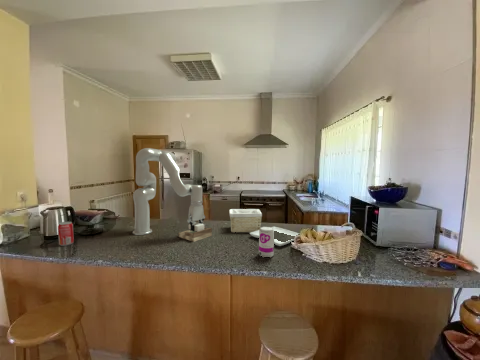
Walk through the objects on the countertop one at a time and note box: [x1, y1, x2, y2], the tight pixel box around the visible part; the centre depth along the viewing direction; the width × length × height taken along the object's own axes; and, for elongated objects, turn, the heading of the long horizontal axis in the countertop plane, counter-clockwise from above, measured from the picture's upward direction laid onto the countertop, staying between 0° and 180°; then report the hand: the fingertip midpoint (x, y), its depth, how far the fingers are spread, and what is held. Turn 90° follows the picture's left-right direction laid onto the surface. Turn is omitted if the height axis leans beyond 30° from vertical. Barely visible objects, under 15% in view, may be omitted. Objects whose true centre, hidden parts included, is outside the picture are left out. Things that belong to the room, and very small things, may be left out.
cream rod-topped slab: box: [187, 221, 205, 232], centre depth 152 cm, size 10×6×6 cm, turn 52°
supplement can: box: [258, 226, 275, 258], centre depth 123 cm, size 8×8×15 cm
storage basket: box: [228, 208, 263, 233], centre depth 170 cm, size 24×16×15 cm
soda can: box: [57, 221, 75, 247], centre depth 133 cm, size 7×7×13 cm
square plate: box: [249, 226, 300, 247], centre depth 151 cm, size 27×27×4 cm
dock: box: [177, 226, 213, 243], centre depth 153 cm, size 16×16×6 cm
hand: (196, 229), depth 152 cm, fingers closed on cream rod-topped slab, 6 cm apart
